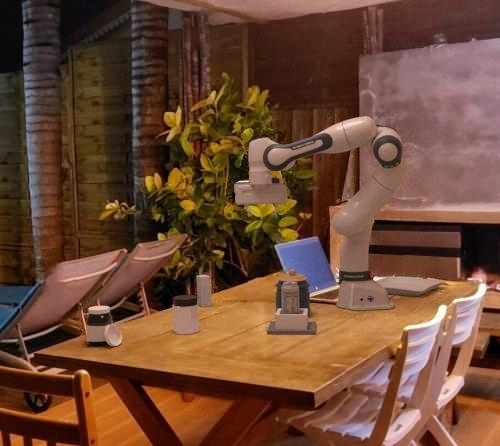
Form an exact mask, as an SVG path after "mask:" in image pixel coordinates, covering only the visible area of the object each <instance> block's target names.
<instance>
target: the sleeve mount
mask: <svg viewBox="0 0 500 446" xmlns="http://www.w3.org/2000/svg"><path fill="white" fill-rule="evenodd" d="M316 331H317V321H309V317H308V309H299V314H282V308H278V310H277V312H276V311H275V319H274V320H271V321H270V323H269V325H268V327H267V329H266V335H280V336H281V335H286V336H287V335H289V336H290V335H291V336H293V335H294V336H295V335H298V336H299V335H301V336H303V335H305V336H308V335H309V336H311V335H313V336H314V335H316Z"/></svg>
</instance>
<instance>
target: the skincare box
mask: <svg viewBox="0 0 500 446" xmlns="http://www.w3.org/2000/svg"><path fill="white" fill-rule="evenodd" d="M195 277H196V292H197V293H196V294H197V299H198V302H197V304H198V305H199V306H200V307H203V308H207V307H212V292H211V291H212V290H211V288H212V287H211V276H209V275H207V274H198V275H197V274H196V276H195Z"/></svg>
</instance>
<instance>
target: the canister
mask: <svg viewBox="0 0 500 446" xmlns="http://www.w3.org/2000/svg"><path fill="white" fill-rule="evenodd" d="M276 279H277V282H276V283H275V285H274V286H275V288H276V289H275V290H276V292H275V294H274V295H275V313H276V312H277V310H278V308H282V296H281V287H282V285H283V282H287V281H294V282H297V285H298V286H299V309H308V318H309V317H310V316H311V299H310V298H311V292H310V289H309V288H310V286H311V284H310V283H309V282H308V279H309V278H308V277H307V276H305V275H304V274H303V273H297V271H296V269H294V268H291V269H289V270H288V273H283V274H281V275H280V276H279V277H277V278H276Z"/></svg>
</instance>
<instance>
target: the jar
mask: <svg viewBox="0 0 500 446" xmlns="http://www.w3.org/2000/svg"><path fill="white" fill-rule="evenodd" d="M172 300H173V304H172V324H173V325H172V326H173V329H172V330H173V331H172V332H174V333H176V334H177V335H193V334H196V333H199V332H200V313H199V311H200V309H199V308H200V307H199V306H200V305H199V304H198V295H197V296H196V295H194V294H181V295H175V296H174V297H173V298H172Z"/></svg>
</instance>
